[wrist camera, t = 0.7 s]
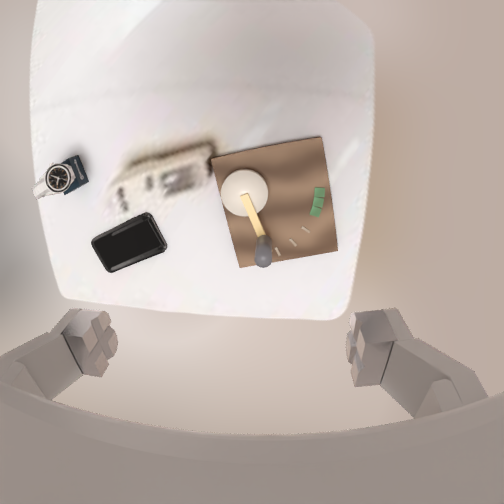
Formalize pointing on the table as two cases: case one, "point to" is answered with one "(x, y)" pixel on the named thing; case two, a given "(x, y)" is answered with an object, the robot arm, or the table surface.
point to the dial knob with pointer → (249, 207)
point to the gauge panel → (284, 200)
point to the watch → (61, 178)
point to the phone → (129, 243)
